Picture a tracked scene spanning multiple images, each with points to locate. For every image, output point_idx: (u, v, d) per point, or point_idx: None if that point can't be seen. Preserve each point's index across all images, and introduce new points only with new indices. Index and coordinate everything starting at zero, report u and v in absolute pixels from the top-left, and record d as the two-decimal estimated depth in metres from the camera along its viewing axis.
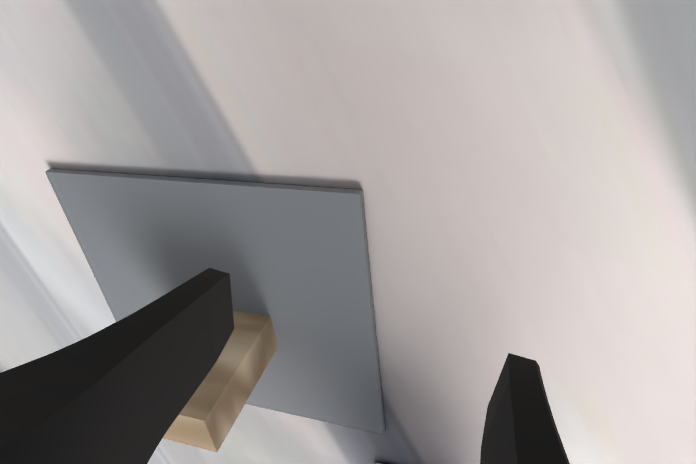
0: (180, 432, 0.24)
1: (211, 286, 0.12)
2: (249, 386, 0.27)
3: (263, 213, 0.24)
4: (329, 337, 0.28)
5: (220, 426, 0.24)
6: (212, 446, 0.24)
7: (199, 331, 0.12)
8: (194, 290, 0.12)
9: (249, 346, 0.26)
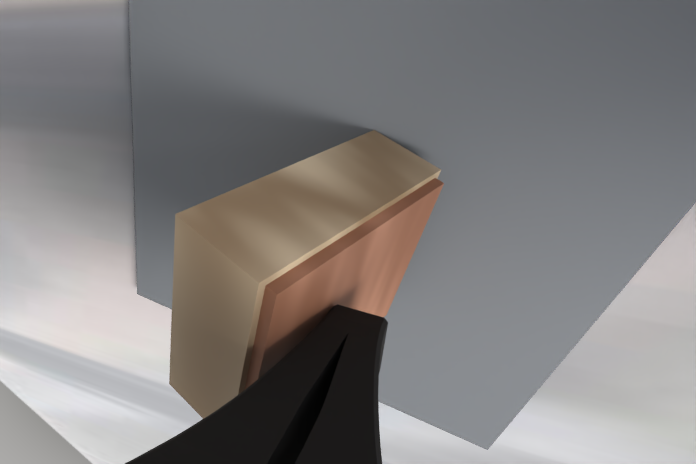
0: (217, 315, 0.11)
1: (350, 327, 0.11)
2: (355, 202, 0.12)
3: (170, 18, 0.15)
4: (442, 24, 0.13)
5: (254, 238, 0.10)
6: (242, 275, 0.09)
7: None
8: (334, 332, 0.11)
9: (322, 155, 0.13)
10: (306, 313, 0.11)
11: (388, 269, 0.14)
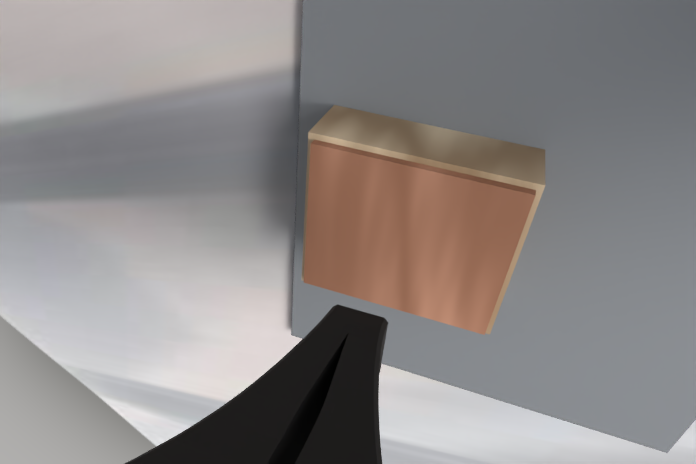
0: None
1: (350, 327, 0.11)
2: (427, 151, 0.15)
3: (341, 76, 0.17)
4: (620, 43, 0.14)
5: (342, 125, 0.16)
6: None
7: None
8: (334, 332, 0.11)
9: (469, 137, 0.16)
10: (345, 194, 0.16)
11: (460, 250, 0.16)
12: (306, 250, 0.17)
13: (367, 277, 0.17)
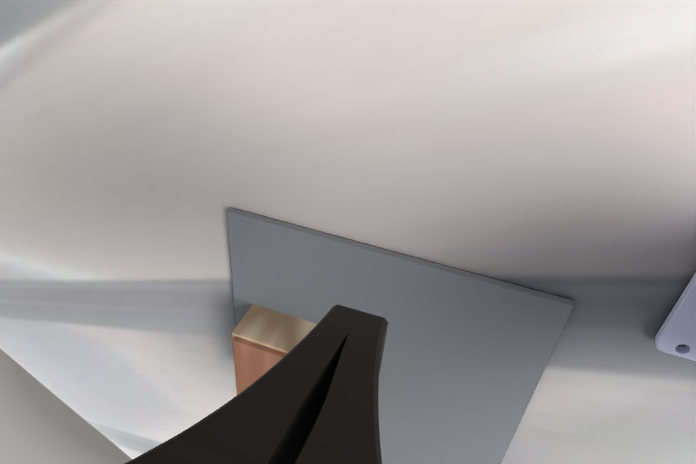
0: None
1: (350, 327, 0.11)
2: None
3: (255, 291, 0.28)
4: (393, 299, 0.25)
5: (253, 324, 0.28)
6: None
7: None
8: (334, 332, 0.11)
9: None
10: (254, 364, 0.27)
11: None
12: (237, 388, 0.29)
13: None
